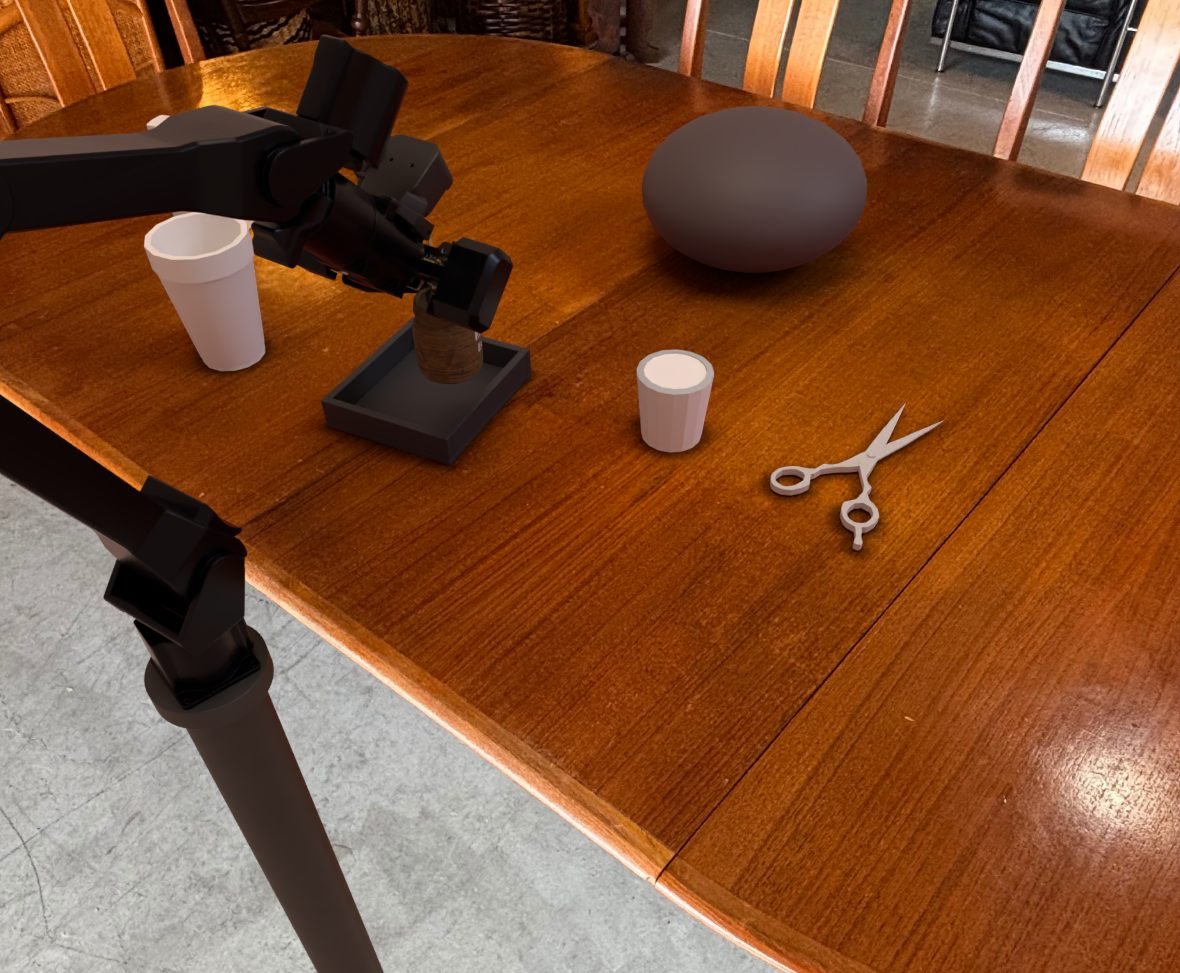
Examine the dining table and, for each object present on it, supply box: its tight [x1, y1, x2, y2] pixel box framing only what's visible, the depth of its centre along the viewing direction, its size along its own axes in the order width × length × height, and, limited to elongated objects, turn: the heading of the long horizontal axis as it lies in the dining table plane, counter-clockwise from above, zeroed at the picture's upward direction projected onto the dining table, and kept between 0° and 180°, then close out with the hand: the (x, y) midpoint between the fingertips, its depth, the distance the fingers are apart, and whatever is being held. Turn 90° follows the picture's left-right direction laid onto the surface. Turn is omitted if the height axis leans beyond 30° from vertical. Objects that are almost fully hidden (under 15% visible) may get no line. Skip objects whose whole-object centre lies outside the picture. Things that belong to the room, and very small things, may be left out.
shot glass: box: [636, 348, 715, 453], centre depth 89 cm, size 7×7×7 cm
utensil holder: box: [412, 235, 483, 384], centre depth 85 cm, size 6×6×12 cm
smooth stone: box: [641, 105, 868, 274], centre depth 109 cm, size 25×25×15 cm
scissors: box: [769, 402, 945, 551], centre depth 88 cm, size 11×1×20 cm
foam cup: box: [143, 212, 266, 372], centre depth 97 cm, size 10×9×13 cm
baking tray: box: [320, 316, 532, 466], centre depth 95 cm, size 16×14×3 cm
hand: (453, 295), depth 85 cm, fingers closed on utensil holder, 5 cm apart
